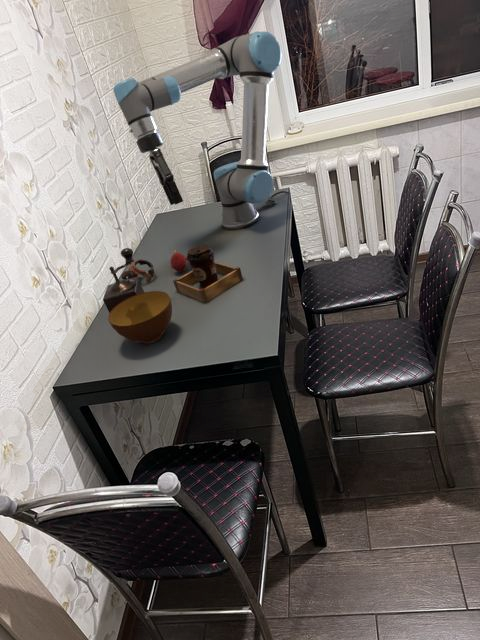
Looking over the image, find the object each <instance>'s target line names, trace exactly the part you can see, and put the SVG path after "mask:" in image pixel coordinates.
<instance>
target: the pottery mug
mask: <svg viewBox="0 0 480 640" xmlns="http://www.w3.org/2000/svg"><path fill="white" fill-rule="evenodd" d="M138 264H139V265H140V266H144V265H146V266H148V268H150V269H148V270H145V269H140V268H139V267H137V265H138ZM139 276H142V277H145V278H146V280H145V282H146V283H151V281H152V279H153V278H154V276H155V269H154V264H153V263H152V262H151V261H148V260H147V259H137V260H134V262H132V264H131V265H129V267H128V270H125V271H123V272H122V273H121V277H120V278H121V280H122V279H123V280H128V279H131V278H135V277H138V278H139Z"/></svg>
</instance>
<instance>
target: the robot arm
mask: <svg viewBox="0 0 480 640" xmlns="http://www.w3.org/2000/svg"><path fill="white" fill-rule="evenodd" d="M281 62H282V49H281V45H280V43H279V41H278V40H277V38H276V37H275V36H274V35H273V34H272V33H271V32H270V31H254V32H251V33H247V34H243V35H238V36H235V37H233V38H231V39H230V40H228V41H226V42H224V43H222V44H221V45H218V46H217V47H216V46H215V47H214V48H211V50H210V52H209V53H208V54H206V55H203V56H201V57H198V58H195V59H193V60H190V61H188V62H186V63H182V64H180V65H178V66H176V67H173V68H171V69H168V70H165V71H163V72H160V73H158V74H156V75H153V76H151V77H149V78H145V79H143V80H140V81H137V80H136V79H135V78H134V77H130V78H125V79H122V80H121V81H119V82H117V83H116V84H114V86H113V88H112V90H113V94H114V97H115V100H116V101H117V104H118V106H119V108H120V110H121V112H122V115H123V116H124V119H125V121H126V122H127V125H128V127H129V129H128V132H129V133H130V134H132V136H133V138H134V139H135V140H136V145H137V147H138V149H139V151H140V153H141V154H145V153H149V155H148V158H149V161H150V163H151V164H152V167H153V169H154V172H155V173H156V176H157V178H158V181H159V184H160V186H161V187H162V189H163V191H164V193H165V196H166V197H167V200H168V202H169V205H170V206H173V205H179V204H180V203H182V202H184V199H183V196H182V195H181V191H180V190H179V188H178V185H177V184H176V181H175V179H174V174H173V172H172V171H171V169H170V167H169V165H168V163H167V161H166V159H165V157H164V153H163V152H162V151H161V148H160V147H161V146H163V145H164V141H163V139H162V137H161V135H160V132H157V131H158V127H157V125H156V123H155V119H154V118H153V116H152V114H151V112H154V111H157V110H159V109H162V108H166V107H169V106H173V105H174V104H177V103H178V102H180V100H181V97H182V94H183V93H185V92H188V91H190V90H192V89H194V88H196V87H199V86H201V85H204V84H206V83H208V82H211V81H214V80H217V79H219V80H224V79H226V78H229V77H234V76H235V77H236V76H239V80H240V81H241V82H242V84H243V89H242V90H243V91H242V92H243V96H242V120H241V121H242V123H241V148H240V149H241V150H240V151H241V152H240V154H241V155H240V160H238V161H233V162H230V163H227V164H224V165H223V166H220V167H217V168H216V169H214V171H213V178H214V182H215V185H216V190H217V192H218V196H219V199H220V203H221V208H222V213H221V216H222V219H221V224H222V227H223V228H224V229H226V230H233V231H234V230H239V229H244V228H247V227H250V226H252V225H254V224H256V222H258V221H259V219H260V215H259V212H258V211H260V210H262V209H265V208H269V207H272V206H273V207H274V206H275V205H276V204H277V201H276V200H274V199H272V198H274V197H275V196H277V195H280V194H290V192H289V191H287V190H281V191H277V192H276V193H273V190H274V182H275V181H274V178H273V176H272V175H271V173H270V172H269V164H268V162H267V161H266V160H265V158H266V141H267V139H266V138H267V122H268V121H267V119H268V103H269V102H268V101H269V87H270V84H271V83H272V82H273V81H274V72H275V71H277V69H278V67H280V64H281ZM272 193H273V194H272ZM266 201H268V202H271V203H270V204H266V205H262V206H260V207H257V208H256V207H255V205H254V204H262V203H264V202H266Z"/></svg>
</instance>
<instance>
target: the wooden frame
mask: <svg viewBox="0 0 480 640" xmlns="http://www.w3.org/2000/svg"><path fill="white" fill-rule="evenodd" d="M214 262H215V265H216V271H217V275H218V274H219V275H221V276H223V277H221V278H218V281H216V282H215V283H213V284H211V285H210V286H208V287H206V288H205V289H201V288H198V287H196V286H192V285H194V284H195V283H197V282H198V281H197V279H196V277H195V274H194V272H193V270H192V269H191V270H190V271H189V272H187V273H186V274H184V275H182V276H180V277H179V278H174V279H172V283H173V285H174V288H175V290H176V292H177V293H180V294H182V295H186V296H187V297H190V298H193V299H195V300H197V301H200V302H201V303H204V304H207V303H208V302H209V301H210V300H212V299H214V298H216V297H217V296H219V295H220V294H222V293H223V292H225V291H227V290H228V289H230V288H232V287H234V285H236V284H238V283H239V282H242V281H243V280H244V278H243V274H242V270H241V267H240V266H236V267H234V266H232V265H228V264H225V263H223V262H222V263H221V262H219V261H216V260H214Z"/></svg>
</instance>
